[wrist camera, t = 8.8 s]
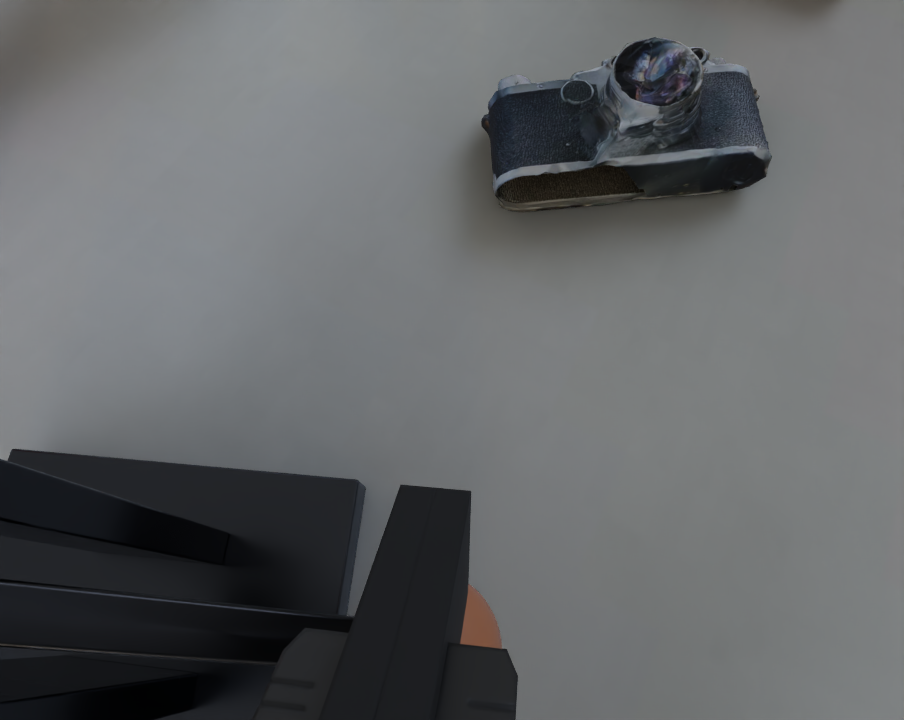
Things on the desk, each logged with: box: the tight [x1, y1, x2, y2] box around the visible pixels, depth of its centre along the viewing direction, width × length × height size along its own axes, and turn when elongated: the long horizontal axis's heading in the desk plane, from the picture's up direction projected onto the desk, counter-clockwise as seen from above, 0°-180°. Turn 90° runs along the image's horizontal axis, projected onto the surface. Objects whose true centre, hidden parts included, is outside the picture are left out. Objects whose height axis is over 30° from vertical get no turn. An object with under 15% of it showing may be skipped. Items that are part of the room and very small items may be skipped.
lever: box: [0, 579, 502, 666], centre depth 14 cm, size 14×4×4 cm
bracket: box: [0, 449, 366, 720], centre depth 16 cm, size 12×9×13 cm
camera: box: [481, 37, 772, 212], centre depth 24 cm, size 5×10×4 cm, turn 92°
